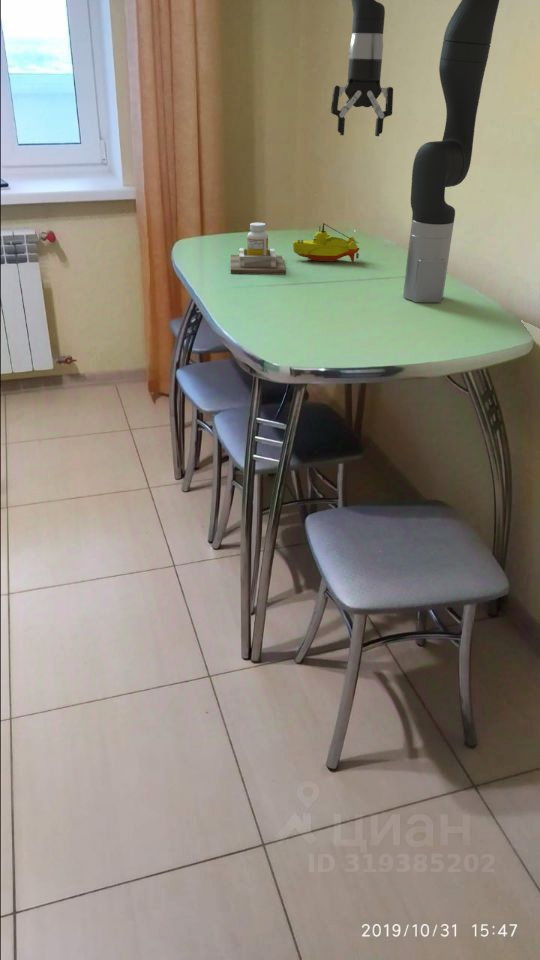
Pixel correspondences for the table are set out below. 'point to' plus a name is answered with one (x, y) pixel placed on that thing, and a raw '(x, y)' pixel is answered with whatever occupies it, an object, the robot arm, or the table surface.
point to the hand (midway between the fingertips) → (359, 135)
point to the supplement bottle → (257, 240)
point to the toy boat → (326, 247)
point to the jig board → (257, 263)
